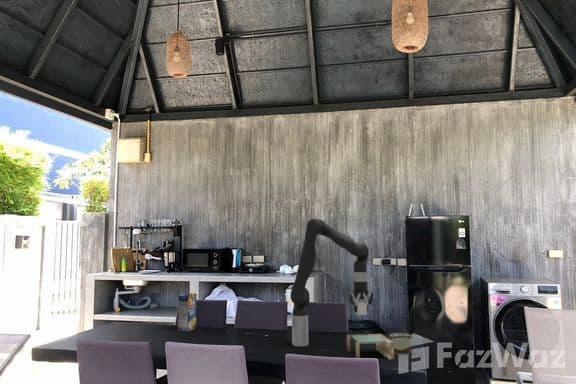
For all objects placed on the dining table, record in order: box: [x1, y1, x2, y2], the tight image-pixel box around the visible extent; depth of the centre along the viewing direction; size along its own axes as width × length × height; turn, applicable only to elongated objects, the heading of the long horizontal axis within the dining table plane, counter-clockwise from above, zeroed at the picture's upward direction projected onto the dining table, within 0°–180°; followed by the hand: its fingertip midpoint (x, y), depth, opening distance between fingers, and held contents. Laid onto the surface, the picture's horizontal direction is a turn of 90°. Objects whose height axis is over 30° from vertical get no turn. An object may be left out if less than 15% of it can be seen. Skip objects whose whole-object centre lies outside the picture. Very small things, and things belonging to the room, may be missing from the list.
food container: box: [388, 332, 413, 355], centre depth 233 cm, size 12×6×10 cm, turn 92°
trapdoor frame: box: [346, 333, 395, 360], centre depth 229 cm, size 20×20×8 cm
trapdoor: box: [351, 334, 385, 345], centre depth 230 cm, size 14×14×1 cm
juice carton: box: [177, 292, 197, 333], centre depth 299 cm, size 12×8×24 cm, turn 165°
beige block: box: [354, 301, 368, 316], centre depth 231 cm, size 5×5×6 cm
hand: (361, 312), depth 231 cm, fingers closed on beige block, 5 cm apart
